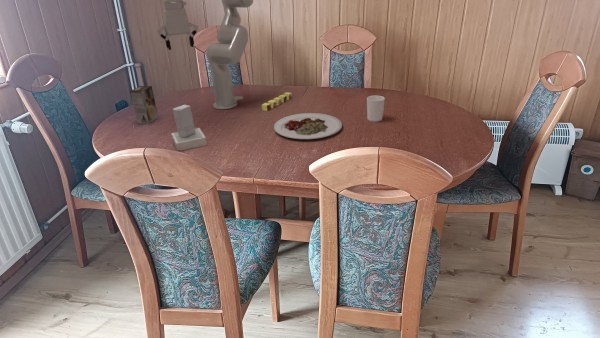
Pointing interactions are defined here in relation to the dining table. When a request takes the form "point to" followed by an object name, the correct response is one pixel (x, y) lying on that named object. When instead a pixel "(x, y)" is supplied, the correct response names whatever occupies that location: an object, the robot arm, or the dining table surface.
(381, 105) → the white cup
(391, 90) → the dining table surface
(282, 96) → the yellow segmented block row
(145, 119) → the coffee box
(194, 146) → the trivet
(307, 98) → the dining table surface
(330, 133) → the plated food
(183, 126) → the skincare box
